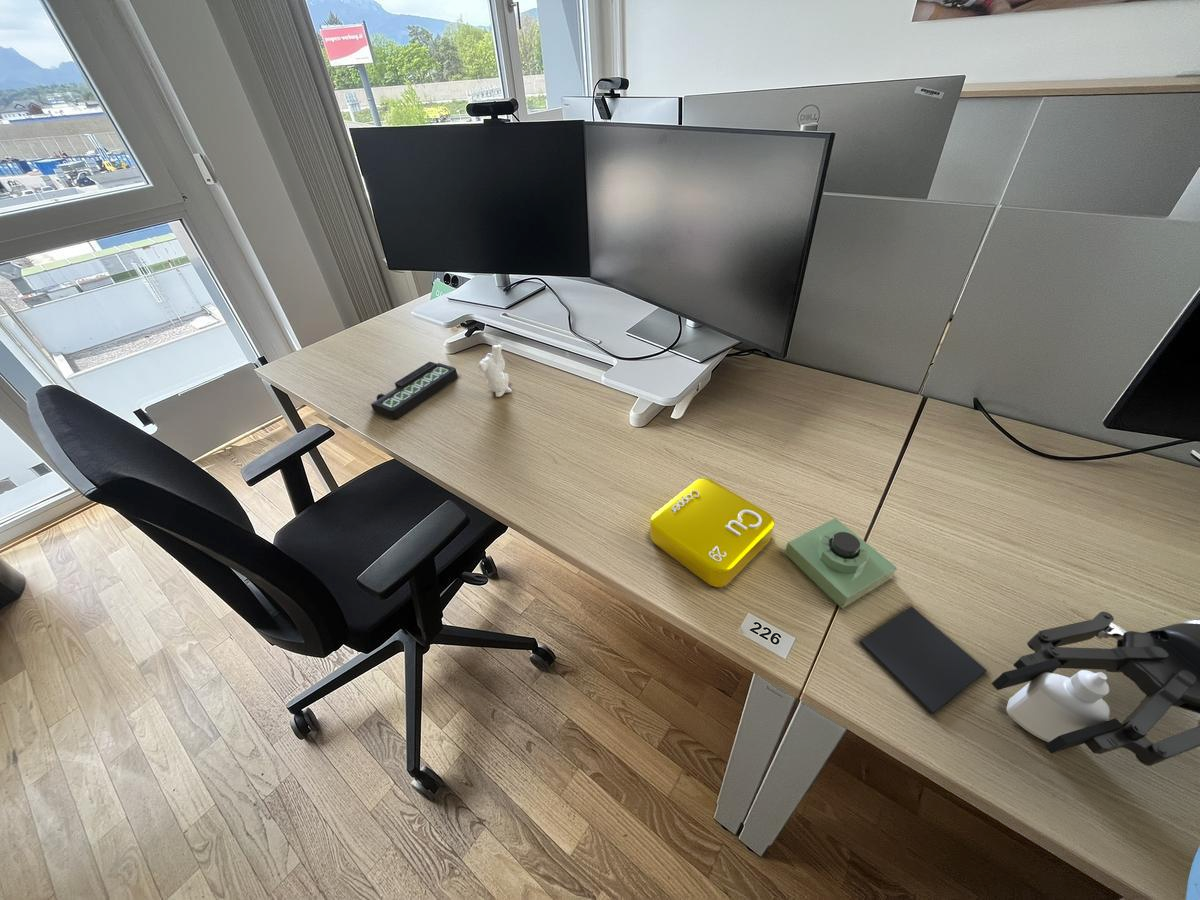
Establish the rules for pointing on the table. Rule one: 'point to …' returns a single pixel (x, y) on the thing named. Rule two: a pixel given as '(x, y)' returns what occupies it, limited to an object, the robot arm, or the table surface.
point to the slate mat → (922, 659)
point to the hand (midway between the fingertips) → (1026, 711)
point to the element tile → (711, 531)
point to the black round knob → (845, 545)
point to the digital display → (414, 389)
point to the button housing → (839, 564)
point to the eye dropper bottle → (1060, 703)
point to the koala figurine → (495, 371)
